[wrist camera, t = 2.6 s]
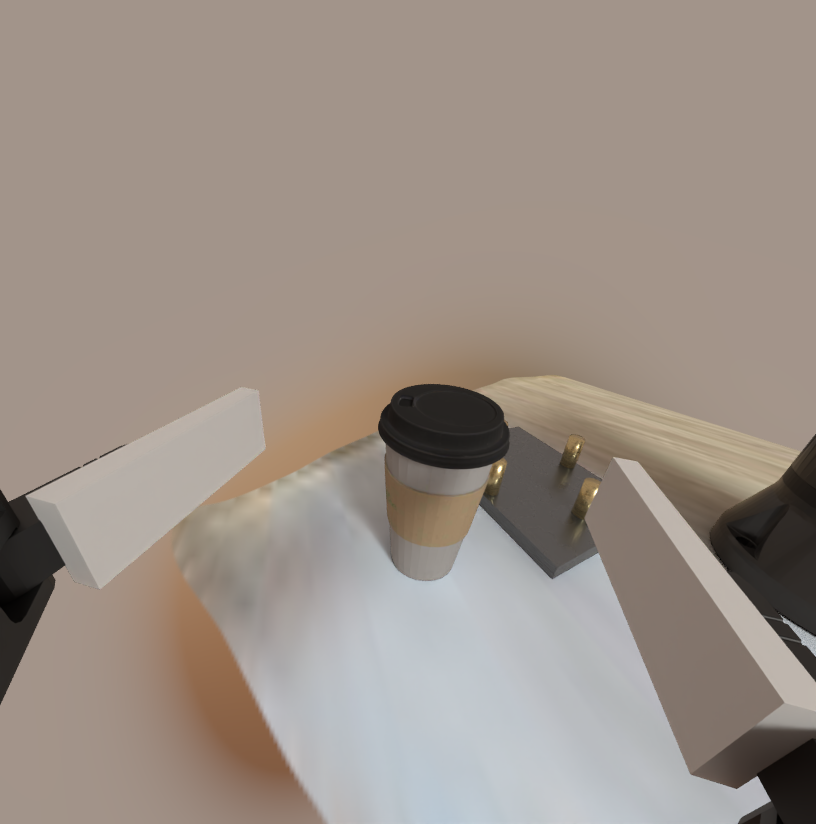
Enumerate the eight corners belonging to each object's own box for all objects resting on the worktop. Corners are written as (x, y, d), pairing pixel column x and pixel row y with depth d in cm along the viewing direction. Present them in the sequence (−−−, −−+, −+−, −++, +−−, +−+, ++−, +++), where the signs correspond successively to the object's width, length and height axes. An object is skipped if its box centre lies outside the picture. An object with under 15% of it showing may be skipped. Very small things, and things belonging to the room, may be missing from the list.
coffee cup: (359, 527, 30) (362, 384, 24) (442, 505, 34) (466, 376, 27) (394, 622, 23) (414, 452, 16) (497, 580, 27) (547, 428, 20)
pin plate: (648, 523, 34) (671, 484, 32) (552, 578, 27) (572, 534, 25) (516, 434, 50) (524, 403, 47) (431, 455, 43) (436, 419, 40)
